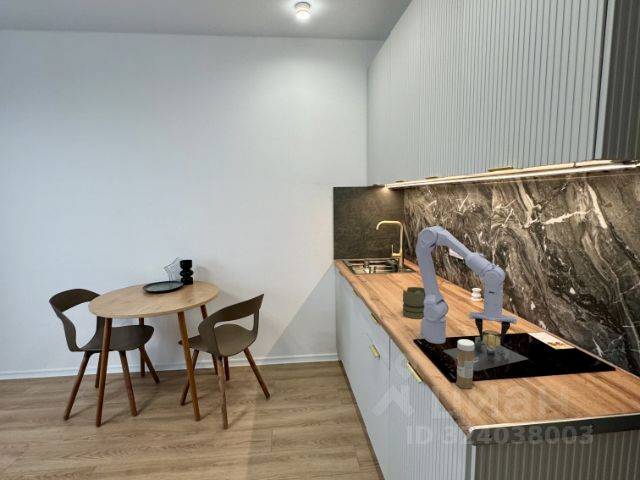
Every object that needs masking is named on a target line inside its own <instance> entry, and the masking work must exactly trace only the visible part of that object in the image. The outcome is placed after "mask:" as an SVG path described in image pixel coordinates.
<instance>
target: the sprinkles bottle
mask: <svg viewBox="0 0 640 480" xmlns="http://www.w3.org/2000/svg"><path fill="white" fill-rule="evenodd" d="M474 344H475V341H473V340H470V339H465V338H464V339H458V340H457V344H456V345H457V347H456V348H458V360H457V364H456V365H457V367H456V385H457V386H458V387H459V388H462V389H472V388H473V385H474V384H473V377H474V375H473V374H474V370H473V351H474Z"/></svg>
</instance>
